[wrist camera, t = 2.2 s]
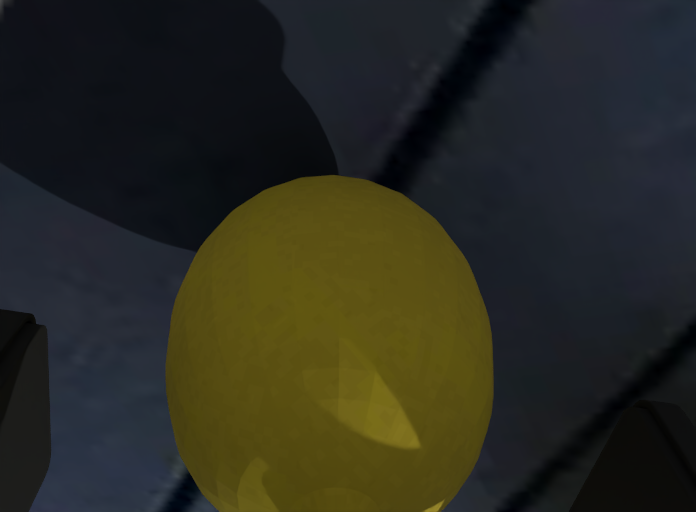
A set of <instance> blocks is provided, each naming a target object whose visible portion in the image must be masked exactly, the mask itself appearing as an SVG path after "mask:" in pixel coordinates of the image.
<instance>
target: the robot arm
mask: <svg viewBox="0 0 696 512" xmlns="http://www.w3.org/2000/svg"><path fill="white" fill-rule="evenodd" d="M50 458H51V433H50V401H49V370H48V338H47V329H46V326H44V325H38V324H36V320H35V317H34V315H32V314H30V313H23V312H16V311H9V310H2V309H0V512H29V510H30V508H31V505H32V503H33V501H34V499H35V497H36V495H37V493H38V491H39V489H40V487H41V484H42V482H43V480H44V478H45V476H46V473H47V470H48V467H49V463H50ZM569 512H696V429H695V427H694V426H693V424H692V423H691V421H690V420H689V419H688V417H687V416H686V414H685V413H684V411H683V410H682V409H681V408H680V407H679V406H677V405H675V404H670V403H663V402H656V401H649V400H640V401H638V402H636V403H635V405H634V406H633V407H629V408H627V409H626V410H625V411H624V412H623V414H622V416H621V418H620V419H619V421H618V423H617V425H616V427H615V429H614V430H613V432H612V434H611V436H610V438H609V439H608V441H607V443H606V445H605V447H604V449H603V450H602V452H601V454H600V456H599V458H598V459H597V461H596V463H595V465H594V467H593V469H592V470H591V472H590V474H589V476H588V478H587V479H586V481H585V483H584V485H583V487H582V489H581V490H580V492H579V494H578V496H577V498H576V500H575V501H574V503H573V505H572V507H571V509H570V511H569Z"/></svg>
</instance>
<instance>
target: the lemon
mask: <svg viewBox="0 0 696 512" xmlns="http://www.w3.org/2000/svg"><path fill="white" fill-rule="evenodd" d="M166 393H167V400H168V406H169V412H170V417H171V422H172V427H173V431H174V436H175V441H176V444H177V447H178V450H179V453H180V456H181V458H182V460H183V462H184V463H185V465H186V467H187V469H188V470H189V472H190V474H191V476H192V477H193V479H194V481H195V482H196V484H197V486H198V487H199V489H200V491H201V492H202V494H203V495H204V496H205V497H206V498H207V499H208V500H209V501H210V502H211V504H212V505H213V506H214V507H215V508H217V509H218V510H219V511H220V512H440V511H441V510H443V509H444V508H445V507H446V506H447V505H448V503H449V502H450V501H451V500H452V499H453V498H454V497H455V495H456V494H457V492H458V491H459V490H460V488H461V487H462V485H463V484H464V482H465V481H466V479H467V478H468V476H469V475H470V473H471V472H472V470H473V468H474V466H475V464H476V462H477V460H478V458H479V454H480V451H481V448H482V445H483V442H484V439H485V435H486V432H487V429H488V425H489V421H490V417H491V413H492V403H493V349H492V335H491V329H490V323H489V318H488V314H487V311H486V307H485V305H484V302H483V299H482V297H481V294H480V291H479V289H478V286H477V283H476V281H475V278H474V275H473V273H472V271H471V268H470V266H469V264H468V262H467V260H466V259H465V257H464V255H463V254H462V252H461V251H460V250H459V249H458V247H457V246H456V245H455V243H454V242H453V241H452V239H451V238H450V237H449V235H448V234H447V233H446V232H445V230H444V229H443V228H442V226H441V225H440V224H439V223H438V222H437V220H436V219H435V218H433V217H432V216H431V215H430V214H429V213H427V212H426V211H425V210H423V209H422V208H420V207H419V206H418V205H416V204H415V203H414V202H412V201H411V200H410V199H408V198H407V197H406V196H404V195H403V194H401V193H399V192H396V191H394V190H391V189H389V188H386V187H384V186H381V185H379V184H376V183H374V182H371V181H369V180H365V179H358V178H352V177H345V176H338V175H326V176H314V177H302V178H298V179H295V180H292V181H289V182H286V183H283V184H280V185H277V186H274V187H271V188H268V189H266V190H264V191H262V192H261V193H259V194H258V195H256V196H254V197H253V198H251V199H250V200H248V201H247V202H245V203H243V204H242V205H240V206H239V207H237V208H236V209H234V210H233V211H232V212H231V213H230V214H229V215H228V216H227V217H226V218H225V219H224V220H223V221H222V223H221V224H220V225H219V226H218V227H217V228H216V229H215V230H214V231H213V232H212V233H211V235H210V236H209V237H208V238H207V239H206V240H205V242H204V243H203V244H202V245H201V247H200V248H199V250H198V252H197V254H196V256H195V257H194V259H193V262H192V264H191V266H190V268H189V270H188V272H187V274H186V276H185V279H184V281H183V283H182V285H181V287H180V289H179V292H178V295H177V297H176V300H175V303H174V308H173V312H172V317H171V325H170V333H169V341H168V349H167V357H166Z"/></svg>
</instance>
